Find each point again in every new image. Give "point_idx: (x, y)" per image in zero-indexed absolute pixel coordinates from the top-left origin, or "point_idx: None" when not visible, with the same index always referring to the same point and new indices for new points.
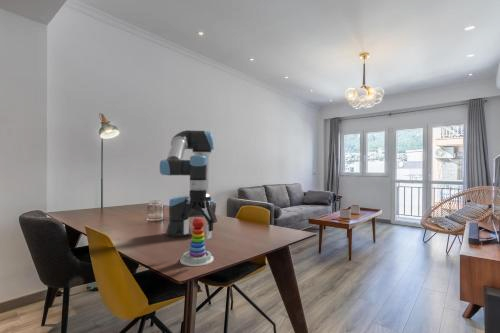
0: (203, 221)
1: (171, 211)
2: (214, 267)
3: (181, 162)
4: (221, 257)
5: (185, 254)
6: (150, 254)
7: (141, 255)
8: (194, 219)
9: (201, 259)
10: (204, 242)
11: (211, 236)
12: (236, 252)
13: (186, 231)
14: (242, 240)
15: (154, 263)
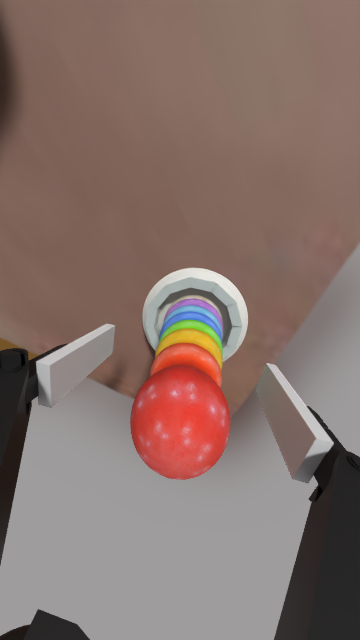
0: (227, 420)
1: None
2: (269, 358)
3: None
4: (264, 271)
5: (157, 340)
6: (46, 322)
7: (34, 336)
8: (148, 465)
9: (224, 356)
10: (219, 335)
11: (277, 371)
12: (313, 185)
13: (106, 348)
14: None
15: (104, 374)
